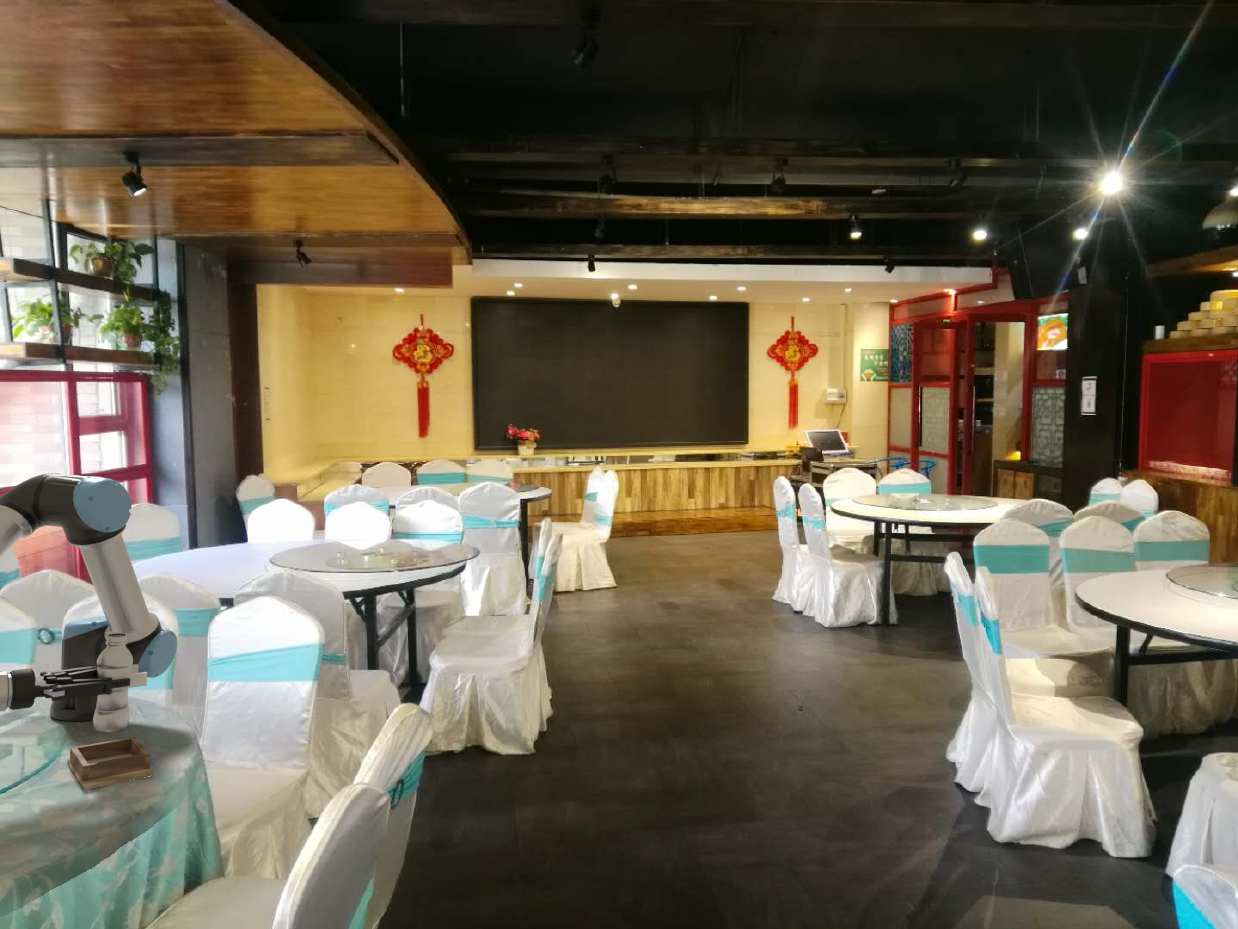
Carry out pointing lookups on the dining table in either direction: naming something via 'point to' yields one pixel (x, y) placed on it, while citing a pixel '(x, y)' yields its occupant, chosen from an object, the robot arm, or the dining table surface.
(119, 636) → the plastic bottle
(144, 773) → the open wooden box
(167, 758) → the dining table surface
